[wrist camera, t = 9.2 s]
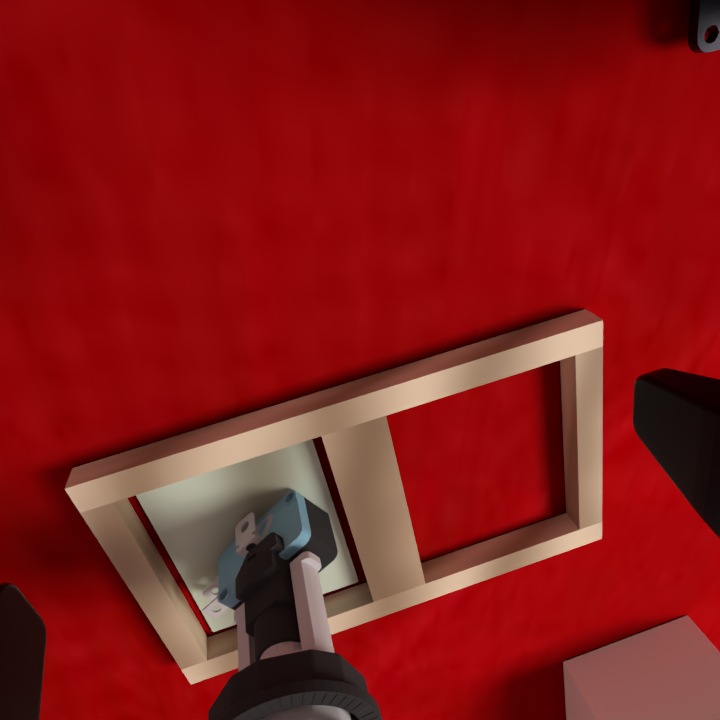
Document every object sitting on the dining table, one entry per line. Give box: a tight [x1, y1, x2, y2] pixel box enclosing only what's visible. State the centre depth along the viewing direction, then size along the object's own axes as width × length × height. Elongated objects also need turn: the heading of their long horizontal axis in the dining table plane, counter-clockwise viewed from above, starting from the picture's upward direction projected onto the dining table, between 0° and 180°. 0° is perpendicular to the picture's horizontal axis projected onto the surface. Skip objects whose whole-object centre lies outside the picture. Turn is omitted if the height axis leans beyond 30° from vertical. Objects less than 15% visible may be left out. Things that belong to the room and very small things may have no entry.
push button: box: [202, 490, 382, 720], centre depth 19 cm, size 7×5×10 cm
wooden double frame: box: [65, 309, 603, 684], centre depth 24 cm, size 21×12×1 cm, turn 103°
